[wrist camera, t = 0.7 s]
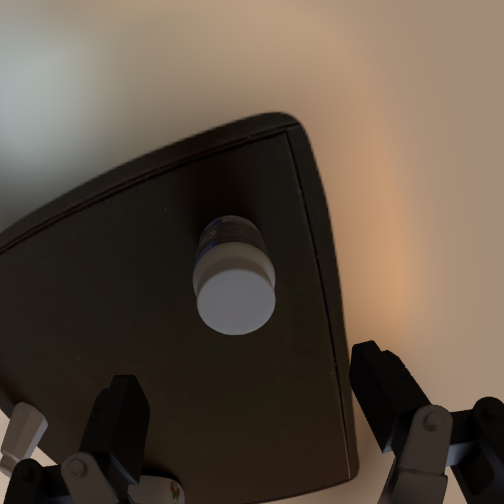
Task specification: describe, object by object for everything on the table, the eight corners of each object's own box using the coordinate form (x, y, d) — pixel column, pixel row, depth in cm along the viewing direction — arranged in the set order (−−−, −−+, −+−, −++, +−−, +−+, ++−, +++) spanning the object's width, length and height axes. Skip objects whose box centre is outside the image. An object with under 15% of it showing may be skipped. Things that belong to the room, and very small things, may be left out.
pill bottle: (203, 209, 22) (195, 253, 14) (268, 220, 23) (293, 267, 15) (194, 269, 23) (184, 335, 16) (254, 278, 24) (271, 345, 16)
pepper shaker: (17, 395, 27) (-13, 455, 17) (50, 416, 29) (26, 480, 19) (15, 412, 29) (-11, 467, 19) (46, 431, 30) (25, 489, 20)
